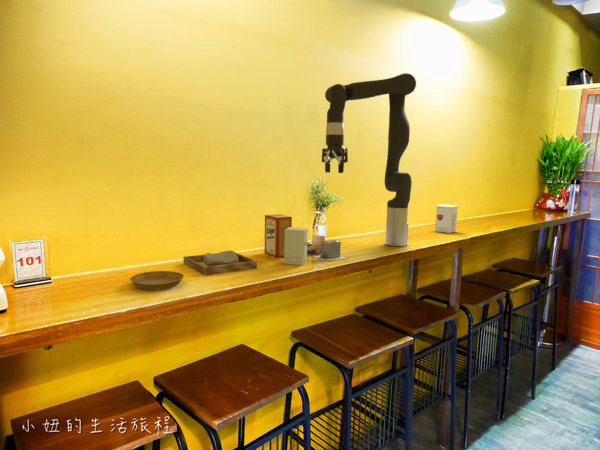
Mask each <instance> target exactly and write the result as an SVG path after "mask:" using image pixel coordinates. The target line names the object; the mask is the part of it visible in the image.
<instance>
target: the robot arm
mask: <svg viewBox="0 0 600 450" xmlns="http://www.w3.org/2000/svg"><path fill="white" fill-rule="evenodd" d="M416 87H417V81H416V78H415V76H414V75H412V74H411V73H408V72H404V73H401V74H397V75H395V76H393V77H389V78H384V79H383V78H382V79H376V80H366V81H365V80H364V81H357V82H351V83H348V84H345V85H343V84H341V83H336V84H334V85H333V84H332V85H331V86H329V87H328V88H327V89H326V91H325V93H324V98H325V100H326V101H327V102H328V103H329V108H328V110H327V111H326V127H325V145H326V148H322V150H321V162H322V163H324V172H325V174H326V173H331V163H332V160H334V159H335V160H336V161H337V163H338V166H337V167H338V169H337V171H338V173H337V174H343V173H344V171H345V170H344V169H345V166H344V165H345V164H346V163H348V162H349V161H348V160H349V158H348V154H349V153H348V147H343V146H344V145H345V143H344V139H345V138H344V137H345V136H344V135H345V127H344V126H345V125H344V111H345V109H346V102H349V101H356V100H365V99H370V98H375V97H378V96H379V97H380V96H383V95H388V101H389V111H388V113H389V114H388V116H389V117H388V134H387V136H388V137H387V155H386V156H387V158H386V159H387V160H386V165H385V173H384V186H385V190H387V191H388V192H390V193H391V192H392V193H395V196H394V197H393V198H391V199H389V200H387V202H386V203H387V204H386V223H385V240H384V243H385V245H386V246H392V247H404V246H406V245H408V239H409V237H408V236H409V235H408V234H409V224H408V212H409V209H408V207H409V203H410V199H411V194H412V193H411V191H412V176H411V175H410V173H409V172H406V171H399V168H400V161H401V158H402V156H403V155H404V153H405V151H406V150H407V148H408V146H409V143H410V136H411V135H410V134H411V133H410V131H411V127H410V122H409V119H408V116H407V112H406V106H405V105H406V104H405V103H406V96H409V95H410V94H412V93H413V92H414V91H415V89H416Z"/></svg>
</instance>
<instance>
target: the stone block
mask: <svg viewBox="0 0 600 450" xmlns="http://www.w3.org/2000/svg"><path fill="white" fill-rule="evenodd" d="M215 253H216V254H214V253H211V252H206V253H204V254H205V255H204V254H203V255H204V256H203V262H202V263H204V265H206V267H210V266H218V265H225V264H233V263H240V262H239V259H238V256H237V254H236V253H237V252H236V251H233V250H224V251H220V252H215Z"/></svg>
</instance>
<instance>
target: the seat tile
mask: <svg viewBox="0 0 600 450" xmlns="http://www.w3.org/2000/svg"><path fill="white" fill-rule="evenodd" d="M312 257H313V258H316V259H320V260H322V261H326V262H334V261H340V260H347V259H348V260H349V257H348V256H347V257H346V256H344V255H340V257H336V258H329V259H323V258H320V254H315V255H312Z"/></svg>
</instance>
